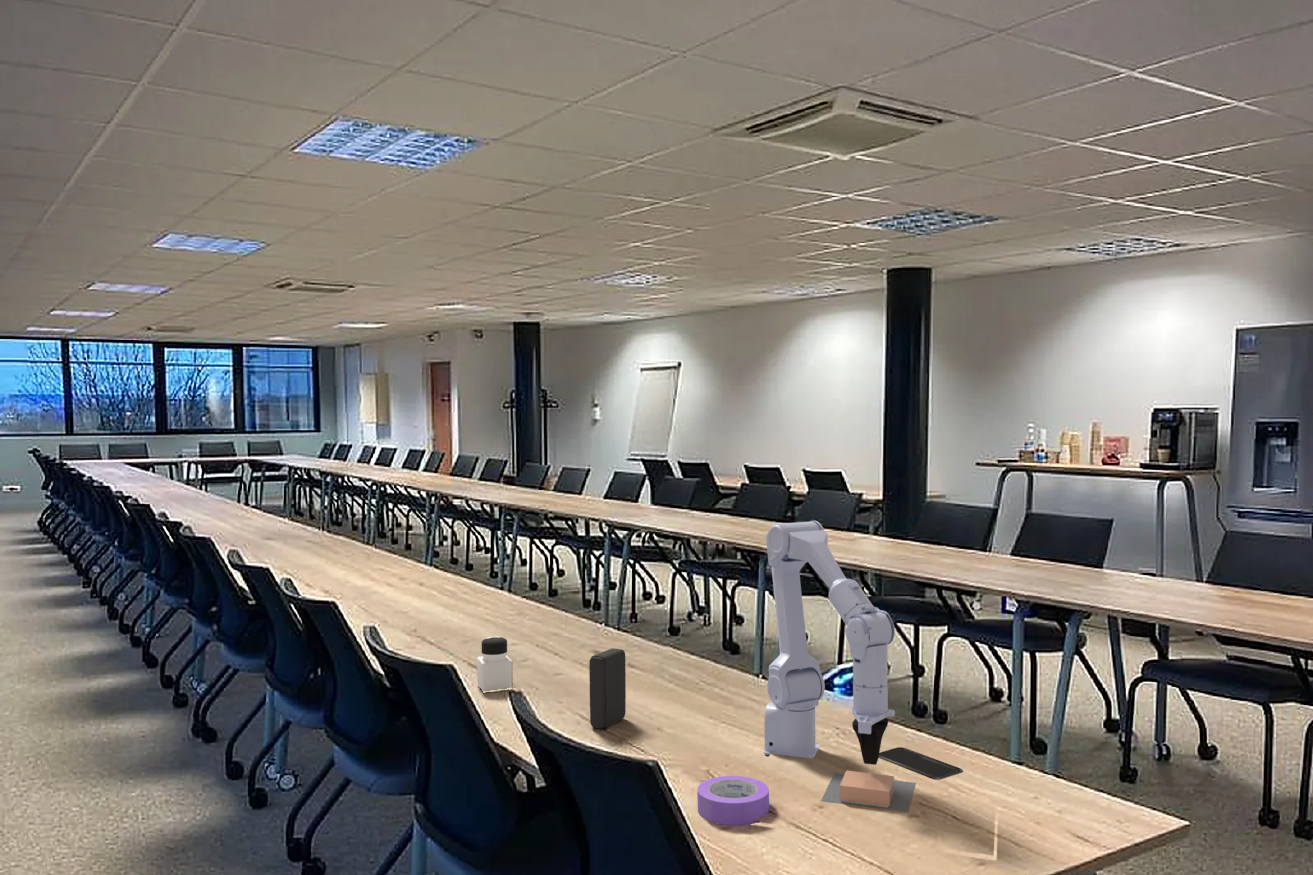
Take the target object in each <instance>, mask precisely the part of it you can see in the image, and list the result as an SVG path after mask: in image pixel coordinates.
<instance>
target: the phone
mask: <svg viewBox="0 0 1313 875" xmlns="http://www.w3.org/2000/svg"><path fill="white" fill-rule="evenodd" d="M878 759H881V760H884V761H886V762H889V763H890V764H894V765H895V766H896V765H897V766H898V767H902V768H904V769H906V770H909V771H911V772H912V773H913V772H914V773H917V774H919V775H921V776H924V777H927V778H928V779H932V780H942V779H946V778H948V777H952V776H955V775H959V774H961V773H963V771H964V770H963V769H962V768H961V767H957V766H956V765H952V764H950V763H947V762H945V761H941V760H939V759H936V758H934V757H931V756H928V755H925V754H923V753H920V752H917V751H914V750H912V749H909V748H907V747H901V746H900V747H894V748H891V749H887V750H884V751H880V752H879V758H878Z"/></svg>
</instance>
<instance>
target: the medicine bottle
mask: <svg viewBox="0 0 1313 875" xmlns="http://www.w3.org/2000/svg"><path fill="white" fill-rule="evenodd" d="M476 670H477V671H476V674H477V676H476V677H477V678H476V680H477V681H476V682H477V683H478V685H479V686H480V687H481V689H482V691H490V690H498V689H507V688H510V687H511V688H512V690H513V688H514V687H513V680H514V679H513V660H512V659H511V658H510V657H509V656H508V640H507V639H506V638H505V637H502V636H489V637H486V638H484V639H482V641H481V656H478V657H476ZM478 685H477V686H478ZM508 690H509V689H508ZM482 691H481V692H482ZM509 691H510V690H509Z"/></svg>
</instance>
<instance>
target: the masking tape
mask: <svg viewBox="0 0 1313 875" xmlns="http://www.w3.org/2000/svg"><path fill="white" fill-rule="evenodd" d="M696 789H697V791H696V793H697V797H696V798H697V813H698V815H699V816H700V817H701V818H702V819H703V820H706V821H708V822H711V823H713V824H716V825H722V826H733V827H734V826H735V827H738V826H739V827H740V826H747V825H748V826H749V825H754V824H757V823H760V822H761V821H760V820H758V819H760V818H762V817H765V816H766V815H767V814H768V813H769V811H770V789H769V786H768V785H767V784H766V783H764V782H763V781H761V780H759V779H757V778H752V777H749V776H744V775H743V776H741V775H724V776H723V775H722V776H716V777H712V778H710V779H705V780H704V781H702V782H701V783H700V784H699V785H698V786H697V788H696Z"/></svg>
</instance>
